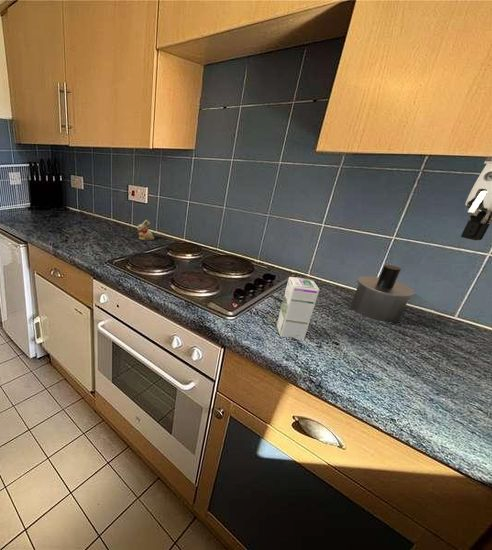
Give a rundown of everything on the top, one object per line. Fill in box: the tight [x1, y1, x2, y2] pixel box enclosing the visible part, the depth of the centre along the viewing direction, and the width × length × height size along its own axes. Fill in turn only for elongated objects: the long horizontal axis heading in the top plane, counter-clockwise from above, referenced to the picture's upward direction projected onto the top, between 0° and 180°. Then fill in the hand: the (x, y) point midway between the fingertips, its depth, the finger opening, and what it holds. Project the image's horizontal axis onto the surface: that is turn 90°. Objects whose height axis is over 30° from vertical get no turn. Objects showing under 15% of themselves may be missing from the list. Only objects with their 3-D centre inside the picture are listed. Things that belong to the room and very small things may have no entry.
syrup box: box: [276, 276, 320, 340], centre depth 74 cm, size 6×6×14 cm
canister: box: [349, 283, 410, 324], centre depth 87 cm, size 11×11×8 cm
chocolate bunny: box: [136, 219, 155, 241], centre depth 148 cm, size 6×8×10 cm
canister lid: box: [356, 264, 415, 298], centre depth 84 cm, size 13×13×7 cm
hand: (470, 238), depth 73 cm, fingers closed
